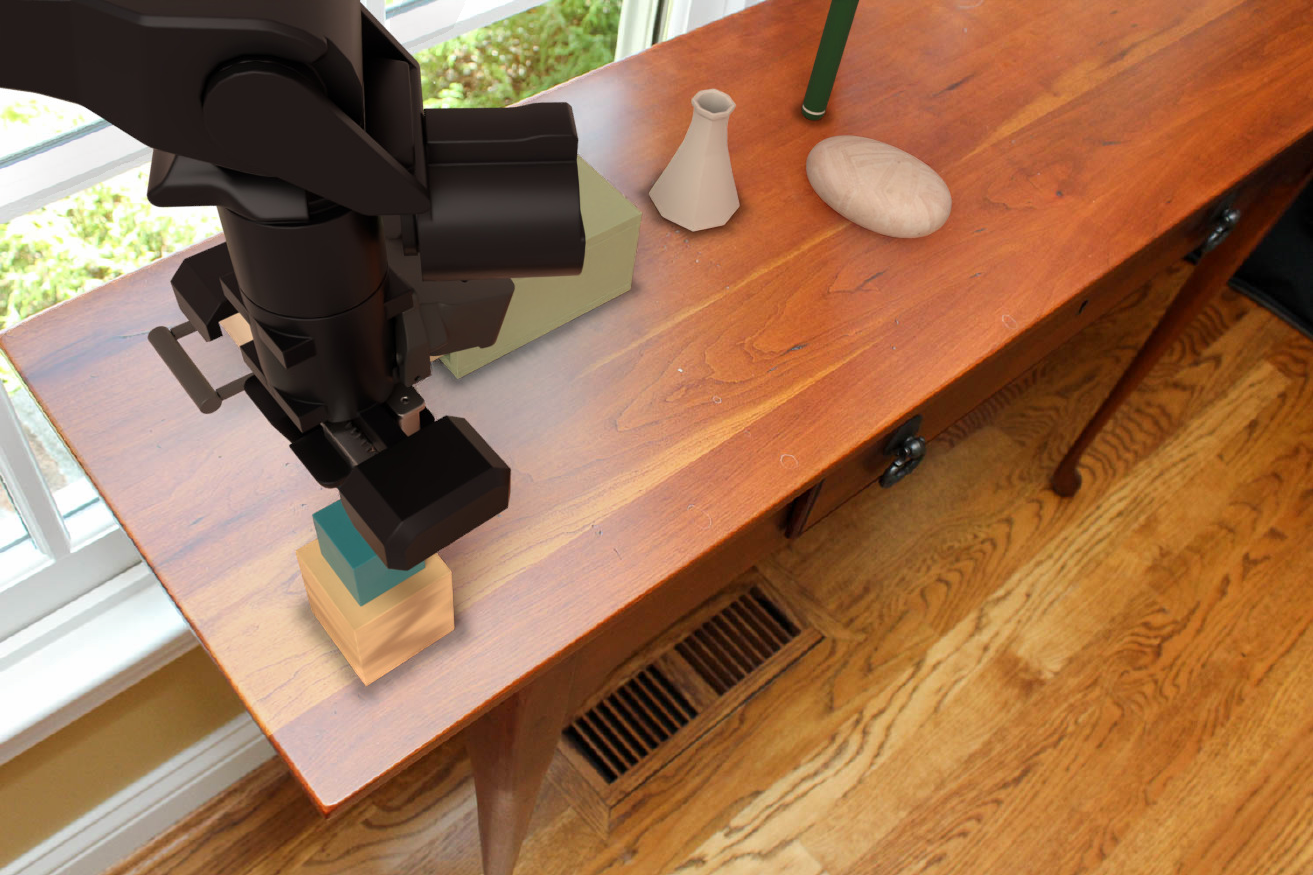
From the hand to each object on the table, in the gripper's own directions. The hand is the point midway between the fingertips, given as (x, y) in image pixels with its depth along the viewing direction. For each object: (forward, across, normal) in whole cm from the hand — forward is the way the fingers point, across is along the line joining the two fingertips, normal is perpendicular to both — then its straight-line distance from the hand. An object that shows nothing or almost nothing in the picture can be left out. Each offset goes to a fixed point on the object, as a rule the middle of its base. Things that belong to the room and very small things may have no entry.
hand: (355, 487), depth 54 cm
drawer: (+11, +18, -8) cm, 23 cm away
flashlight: (+13, +19, -58) cm, 62 cm away
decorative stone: (+13, +7, -52) cm, 55 cm away
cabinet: (+12, +18, -22) cm, 31 cm away
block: (+5, -1, 0) cm, 5 cm away
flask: (+13, +16, -40) cm, 45 cm away
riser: (+12, -1, 0) cm, 12 cm away
